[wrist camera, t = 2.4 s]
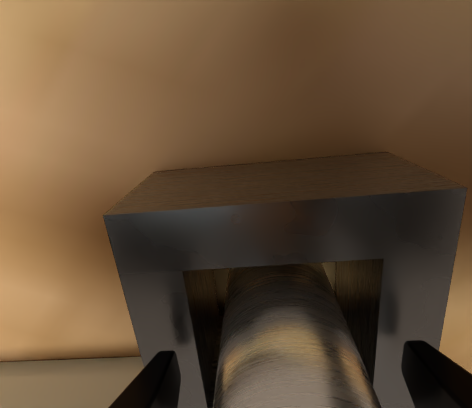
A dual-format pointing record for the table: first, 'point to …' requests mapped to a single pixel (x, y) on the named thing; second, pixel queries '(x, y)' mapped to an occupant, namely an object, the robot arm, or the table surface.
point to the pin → (287, 343)
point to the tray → (66, 382)
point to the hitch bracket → (289, 254)
